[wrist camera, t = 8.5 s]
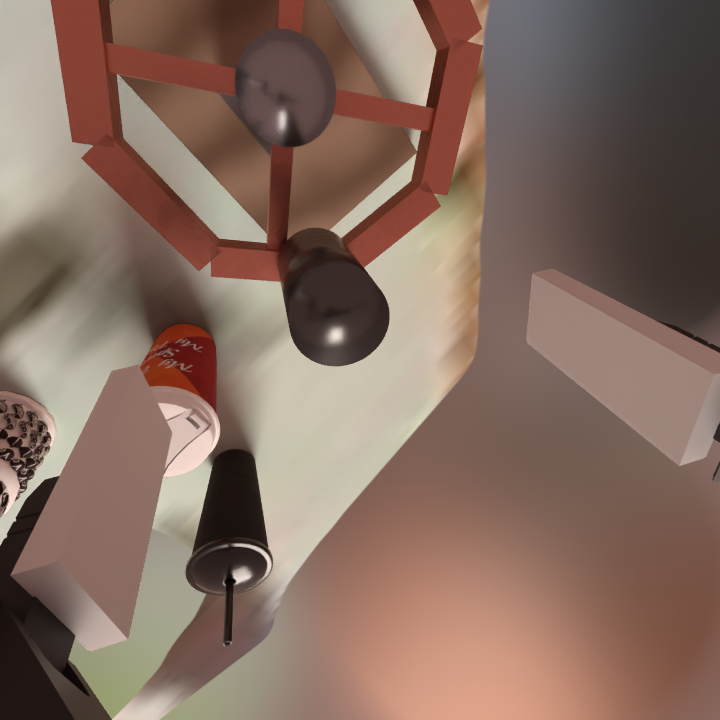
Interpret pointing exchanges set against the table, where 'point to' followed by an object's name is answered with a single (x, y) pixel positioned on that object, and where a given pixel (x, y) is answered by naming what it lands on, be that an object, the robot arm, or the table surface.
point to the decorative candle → (21, 444)
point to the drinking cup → (230, 534)
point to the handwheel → (278, 157)
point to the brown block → (228, 125)
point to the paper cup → (185, 393)
